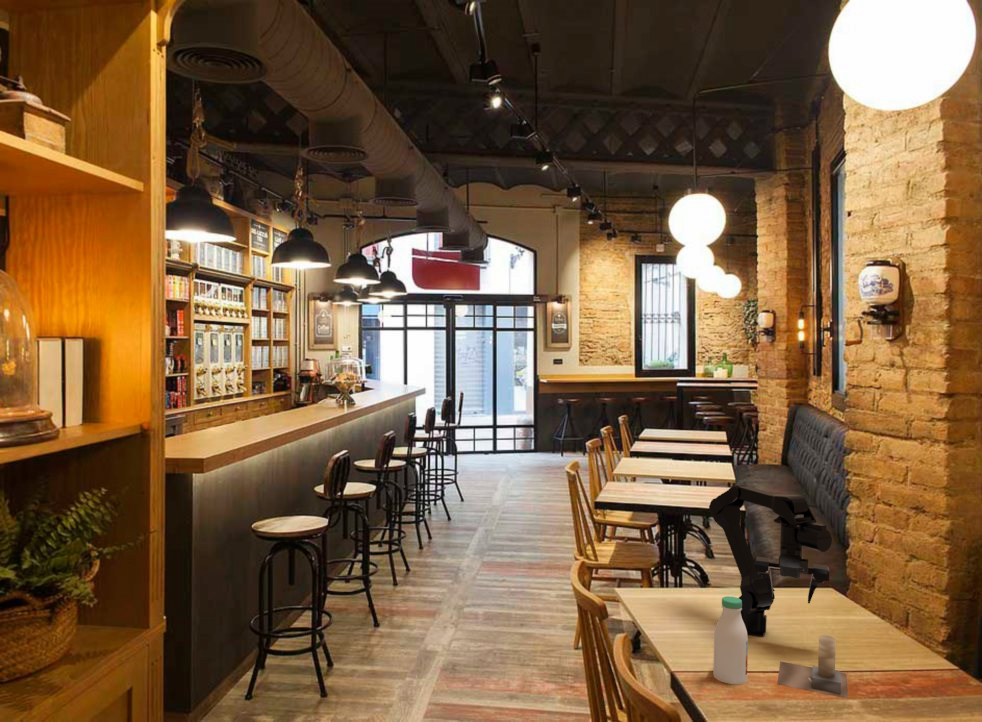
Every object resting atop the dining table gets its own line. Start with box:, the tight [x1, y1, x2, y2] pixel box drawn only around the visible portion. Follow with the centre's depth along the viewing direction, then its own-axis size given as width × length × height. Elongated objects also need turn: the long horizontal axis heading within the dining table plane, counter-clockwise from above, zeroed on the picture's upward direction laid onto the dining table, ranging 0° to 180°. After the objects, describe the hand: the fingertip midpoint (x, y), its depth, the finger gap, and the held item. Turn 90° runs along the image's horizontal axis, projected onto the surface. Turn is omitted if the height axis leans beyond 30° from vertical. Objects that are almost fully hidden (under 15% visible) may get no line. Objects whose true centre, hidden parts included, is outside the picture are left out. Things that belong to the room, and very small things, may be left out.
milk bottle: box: [712, 596, 749, 685], centre depth 172 cm, size 8×8×20 cm
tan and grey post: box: [812, 634, 841, 694], centre depth 169 cm, size 6×7×11 cm
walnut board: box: [776, 661, 849, 699], centre depth 172 cm, size 15×14×1 cm
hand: (790, 600), depth 192 cm, fingers open, 9 cm apart
